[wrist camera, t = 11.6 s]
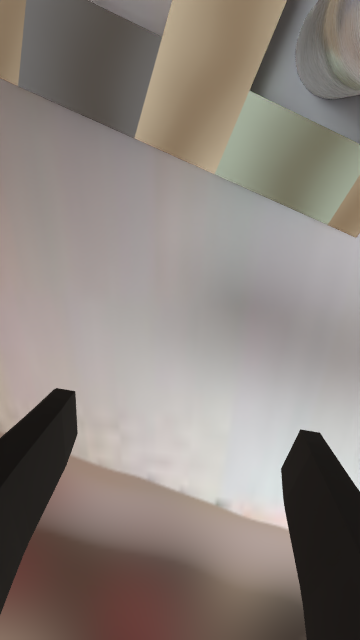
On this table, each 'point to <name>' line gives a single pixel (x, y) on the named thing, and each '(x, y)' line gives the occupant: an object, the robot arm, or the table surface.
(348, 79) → the metal cylinder
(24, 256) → the table surface
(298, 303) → the table surface
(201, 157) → the tool stand
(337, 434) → the table surface
